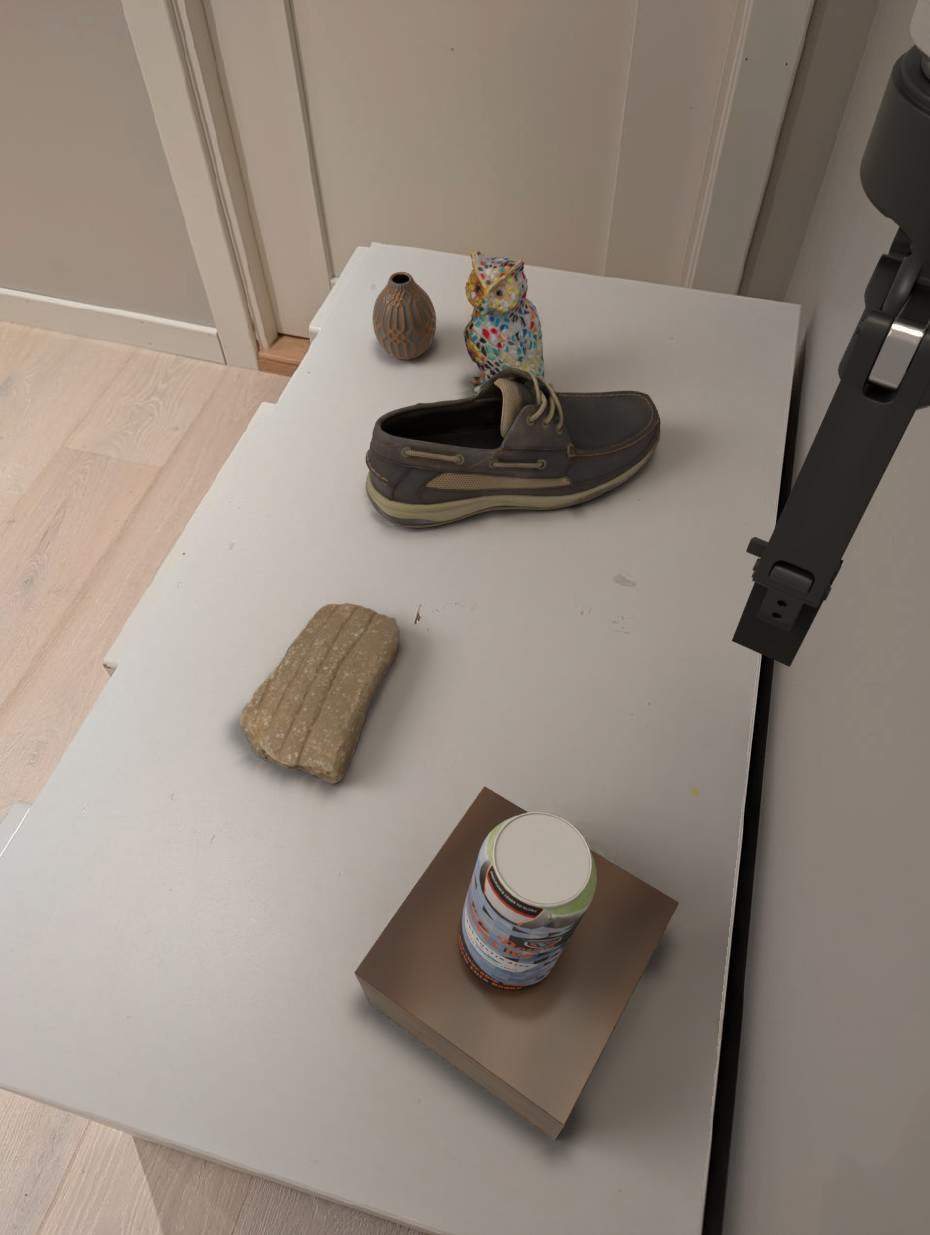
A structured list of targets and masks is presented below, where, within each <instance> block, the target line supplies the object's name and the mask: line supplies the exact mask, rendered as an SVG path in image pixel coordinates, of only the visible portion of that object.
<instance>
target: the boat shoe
mask: <svg viewBox="0 0 930 1235" xmlns="http://www.w3.org/2000/svg"><path fill="white" fill-rule="evenodd" d="M661 424H662V423H661V417H660V414H659V410H658V409H657V406H656V404H655V403H654V400H653V399H652V397H651V396H650V395H649V394H647V393H646V392H643V391H639V390H613V391H612V390H611V391H600V392H598V391H597V392H596V391H595V392H577V391H576V392H575V391H574V392H573V391H572V392H571V391H570V392H569V391H568V392H567V391H566V392H565V391H564V392H562V391H555V387H554V385H553V384H552V383H550V382H549V383H548V381H547V380H546V379H545V378H544V379H543V378H542V377H540V376H535V375H534V374H533V373H532V372H530V371H529V370H525V369H518V368H507V369H503V370H501V371H499V372H498V373H496V374H495V375H494V376H492V377H491V378H490V379H489V380H487V381H486V382H485V383H484V384H483V385H482V386H481V389H480V391H479V393H478V394H477V395H471V396H467V397H464V398H459V399H452V400H451V399H449V400H439V401H435V402H434V401H433V402H418V403H416V404H413V405H412V404H411V405H408V406H403V407H400V408H396V409H393V410H391V411H387V412H386V413H384V414H382V415H380V417H378V418H377V420H376V421H375V423H374V426H373V429H372V435H371V436H372V437H371V440H370V442H369V448H368V450H367V451H366V453H365V457H364V458H365V465H366V467H367V469H368V473H367V475H366V480H365V492H366V495H367V498H368V500H369V502H370V504H371V505H372V507H373V509H374V510H375V511H376V512H377V513H378V514H379V515H380V517H382V518H384V520H386V521H388V522H389V523H391V524H392V525H395V526H397V527H398V526H399V527H403V528H409V529H410V528H411V529H422V528H424V529H425V528H430V527H431V528H432V527H437V526H442V525H446V524H447V525H448V524H451V523H453V522H457V521H460V520H463V519H465V518H468V517H472V516H474V515H477V514H480V513H484V512H490V511H499V510H500V511H501V510H526V509H527V510H532V511H546V510H547V511H548V510H549V511H550V510H555V509H562V508H563V509H564V508H567V507H572V506H576V505H580V504H583V503H587V502H589V501H591V500H593V499H595V498H598V497H601V496H602V495H603V494H605V493H606V492H610V491H612V490H613V489H615V488H617V487H619V486H620V485H622V484H623V483H625V482H627V481H628V480H629V479H630V478H632V477H633V476H634V475H636V474H637V473H638V472H639V471H640V470H641V469H642V468H643V467H644V466H645V465H646V463H647V462H648V461H649V459H650V458H651V457H652V455H653V453H654V452H655V451H656V449H657V446H658V444H659V441H660V439H661V432H662V431H661Z"/></svg>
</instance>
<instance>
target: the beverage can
mask: <svg viewBox="0 0 930 1235" xmlns="http://www.w3.org/2000/svg"><path fill="white" fill-rule="evenodd" d="M528 812H529V813H524V814H521V815H518V816H514V817H512V818H509V819H507V820H505V821H503V822H502V823H500V824H499V825H497V826H496V827H495V828H494V829H493V830H492V831H491V832H490V833H489V834H488V836H487V837H486V839H485V840H484V842H483V844H482V846H481V849H480V852H479V855H478V858H477V862H476V865H475V869H474V872H473V876H472V879H471V883H470V886H469V889H468V893H467V896H466V900H465V903H464V907H463V910H462V914H461V917H460V921H459V925H458V934H457V937H458V946H459V949H460V953H461V956H462V958H463V960H464V962H465V964H466V965H467V967H468V968H469V969H470V971H471V972H472V973H473V974H474V975H475V976H476V977H477V978H478V979H480V980H481V981H483V982H484V983H485V984H487V985H489V986H492V987H494V988H497V989H500V990H505V991H520V990H525V989H528V988H531V987H533V986H535V985H537V984H539V983H540V982H541V981H543V980H544V979H545V978H546V977H547V976H548V975H549V974H550V973H551V971H552V970H553V968H554V966H555V965H556V963H557V961H558V959H559V958H560V956H561V954H562V952H563V951H564V949H565V947H566V945H567V944H568V942H569V940H570V938H571V937H572V935H573V933H574V931H575V929H576V928H577V926H578V924H579V922H580V921H581V919H582V917H583V915H584V914H585V912H586V910H587V908H588V907H589V905H590V903H591V901H592V899H593V896H594V893H595V890H596V883H597V873H596V866H595V862H594V858H593V856H592V853H591V851H590V850H591V849H590V847H589V845H588V842H587V841H586V839H585V837H584V836H583V834H582V833H581V832H580V831H579V830H578V828H576V826H574V825H573V824H572V823H571V822H569V821H568V820H566V819H565V818H563V817H561V816H560V815H559V816H558V815H556V814H553V813H551V812H544V811H528Z"/></svg>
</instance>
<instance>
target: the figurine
mask: <svg viewBox="0 0 930 1235" xmlns="http://www.w3.org/2000/svg"><path fill="white" fill-rule="evenodd" d="M470 259H471V266H472V268H473V269H472V270H471V271H470V274H469V275H468V278H467V282H465V287H464V290H465V295H466V298H467V302H468V303H469V304H470V305H471V306H472V313H471V316H470V321H468V324H467V325H466V326H465V327H464V331H463V339H464V344H465V347H466V348H465V349H466V352H467V354H468V356H469V358H470V360H471V361H472V363H475V364H476V366H477V368H478V369H479V370H480V371H481V373H482V375H480V376H472V377H471V378H470V380H469V383H471V384H472V385H473V386H474V387H473V389H472V394H473V396H475V395H477V394H478V393H479V391H480V389H481V386H482V385H483V384H484V383H485V382H486V381H487V380H489V379H490V378H491V377H492V376H494V375H495V374H496V373H498V372H499V371H501V370H503V369H507V368H518V369H525V370H529V371H530V372H532V373H533V374H534V375H535V376H540V377H542V378H543V379H544V380H545V365H544V364H545V358H544V347H543V346H544V345H543V332H542V323H541V320H540V316H539V312H538V309H537V306H536V305H535V304H534V302H533V301H531V300H530V299H529V298H528V297H527V294H528V291H529V290H528V288H529V287H528V278H527V275H526V274H525V270H524V268H525V262H524V260H523V258H522V259H521V258H520V259H519V260H518V262H516V261H514V260H511V259H509V257H501V256H496V257H495V256H494V257H487V256H486V255H485V254H484V253H482V252H481V251H480V250H479V249H476V250H473V251H472V252H471V253H470Z"/></svg>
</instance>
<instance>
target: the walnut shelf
mask: <svg viewBox="0 0 930 1235" xmlns="http://www.w3.org/2000/svg"><path fill="white" fill-rule="evenodd" d="M529 812H530V811H527V810H525V809H524V808H522V807H520V806H519V805H517V804H516V803H514V802H512V801H510V800H508V798H505V797H504V796H502V795H501V794H498V793H496V792H495V791H493V790H492V789H491V788H488V787H487V786H484V785H483V787H482V788H481V790H480V792H479V793H478V795H477V796H476V797H475V799H474V800H473V802H472V803H471V805H469V807H468V809H467V810H466V812H464V815H463V816H462V817H461V819H460V820H459V822H458V823H457V824H456V826H455V827H454V829H453V830H452V832H451V833H450V834H449V836H448V837H447V839H446V840H445V841H444V843H443V845H442V846H441V848H440V849H439V850H438V851H437V853H436V855H435V856H434V857H433V859H432V860H431V862H430V863H429V864H428V866H427V868H426V869H425V871H423V873H422V875H421V876H420V877H419V879H418V880H417V882H416V884H415V885H414V886H413V888H412V889H411V890H410V892H409V893H408V895H407V896H406V897H405V899H404V900H403V901H402V903H401V905H400V906H399V907H398V909H397V910H396V912H395V913H394V915H393V916H392V918H391V919H390V921H389V922H388V923H387V925H386V926H385V927H384V929H383V930H382V932H381V933H380V935H379V937H378V938H377V939H376V941H375V943H373V945H372V946H371V947H370V949H369V950H368V952H367V953H366V955H365V956H364V958H363V959H362V960H361V962H360V964H359V965H358V966H357V968H356V969H355V970H354V975H355V978H356V979H357V982H358V983H359V984H360V985H359V986H360V987H361V989H362V991H363V993H364V995H365V997H366V999H367V1001H368V1004H369V1005H371V1006H372V1007H373V1008H375V1009H376V1010H377V1011H379V1012H380V1013H382V1014H383V1015H384V1016H385V1017H387V1018H388V1019H390V1020H391V1021H392V1022H393V1023H394V1024H396V1025H397V1026H399V1027H400V1028H402V1030H404V1031H405V1032H407V1033H408V1034H409V1035H411V1036H412V1037H414V1038H415V1039H416V1040H418V1041H419V1042H420V1043H421V1044H423V1045H424V1046H426V1047H427V1048H429V1049H430V1050H431V1051H433V1052H434V1053H435V1054H437V1055H438V1056H439V1057H440V1058H442V1059H444V1060H445V1061H446V1062H448V1063H449V1064H450V1065H451V1066H453V1067H455V1068H456V1069H457V1070H459V1071H460V1072H461V1073H462V1074H464V1075H465V1076H467V1077H468V1078H469V1079H470V1080H472V1081H473V1082H475V1083H476V1084H478V1085H479V1086H480V1087H482V1088H483V1089H484V1090H486V1091H487V1092H488V1093H490V1095H492V1096H494V1097H495V1098H496V1099H498V1100H499V1101H500V1102H502V1103H503V1104H504V1105H506V1106H507V1107H509V1108H510V1109H511V1110H513V1111H514V1112H515V1113H517V1114H518V1115H519V1116H521V1117H522V1118H523V1119H525V1120H526V1121H527V1122H528V1123H530V1124H532V1125H533V1126H534V1127H535V1128H537V1129H538V1130H539V1131H541V1132H543V1134H544V1135H547V1136H548V1137H549V1138H550V1139H552V1140H554V1141H556V1139H557V1137H558V1136H559V1135H560V1133H561V1131H562V1130H563V1129H564V1127H565V1126H566V1124H567V1122H568V1120H569V1118H570V1116H571V1114H572V1112H573V1110H574V1108H575V1106H576V1105H577V1103H578V1101H579V1098H580V1097H581V1094H582V1093H583V1090H584V1089H585V1087H586V1085H587V1083H588V1081H589V1080H590V1077H591V1075H592V1073H593V1071H594V1069H595V1067H596V1065H597V1064H598V1062H599V1060H600V1058H601V1056H602V1054H603V1052H604V1050H605V1048H606V1046H607V1045H608V1042H609V1040H610V1039H611V1036H612V1034H613V1032H614V1031H615V1028H616V1027H617V1025H618V1023H619V1022H620V1021H619V1020H620V1019H621V1017H622V1015H623V1013H624V1012H625V1009H626V1007H627V1005H628V1003H629V1001H630V1000H631V998H632V995H633V993H634V992H635V989H636V987H637V986H638V983H639V982H640V980H641V978H642V975H643V974H644V972H645V970H646V969H647V967H648V965H649V963H650V961H651V958H652V956H653V955H654V952H655V951H656V949H657V947H658V945H659V943H660V941H661V939H662V937H663V935H664V934H665V931H666V929H667V928H668V926H669V923H670V921H671V920H672V918H673V915H674V914H675V912H676V910H677V908H678V906H679V904H680V903H679V901H677V900H676V899H674V898H672V897H671V896H669V895H667V894H665V892H662V891H660V890H659V889H657V888H656V887H654V886H652V885H650V884H649V883H647V882H646V881H644V880H643V879H641V878H639V877H637V876H636V875H634V874H633V873H630V872H629V871H627V870H625V869H624V868H622V867H621V866H619V865H617V864H615V862H612V861H611V860H609V859H607V858H605V857H604V856H602V855H601V854H599V853H598V852H596V851H594V850H592V849H590V851H591V853H592V856H593V858H594V862H595V866H596V873H597V883H596V890H595V893H594V896H593V899H592V901H591V903H590V905H589V907H588V908H587V910H586V912H585V914H584V915H583V917H582V919H581V921H580V922H579V924H578V926H577V928H576V929H575V931H574V933H573V935H572V937H571V938H570V940H569V942H568V944H567V945H566V947H565V949H564V951H563V952H562V954H561V956H560V958H559V959H558V961H557V963H556V965H555V966H554V968H553V970H552V971H551V973H550V974H549V975H548V976H547V977H546V978H545V979H544V980H543V981H541V982H540V983H539V984H537V985H535V986H533V987H531V988H528V989H525V990H520V991H505V990H500V989H497V988H494V987H492V986H489V985H487V984H485V983H484V982H483V981H481V980H480V979H478V978H477V977H476V976H475V975H474V974H473V973H472V972H471V971H470V969H469V968H468V967H467V965H466V964H465V962H464V960H463V958H462V956H461V953H460V949H459V946H458V937H457V934H458V925H459V921H460V917H461V914H462V910H463V907H464V903H465V900H466V896H467V893H468V889H469V886H470V883H471V879H472V876H473V872H474V869H475V865H476V862H477V858H478V855H479V852H480V849H481V846H482V844H483V842H484V840H485V839H486V837H487V836H488V834H489V833H490V832H491V831H492V830H493V829H494V828H495V827H496V826H497V825H499V824H500V823H502V822H503V821H505V820H507V819H509V818H512V817H514V816H518V815H521V814H524V813H529Z"/></svg>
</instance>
